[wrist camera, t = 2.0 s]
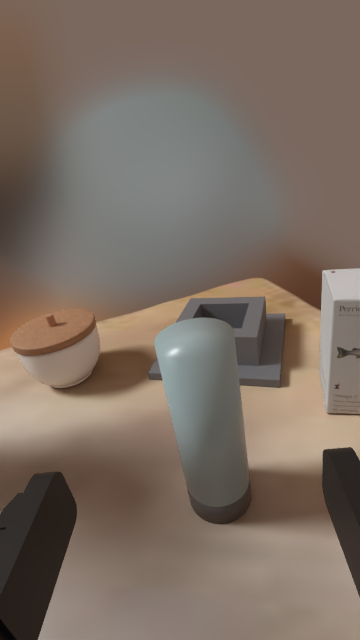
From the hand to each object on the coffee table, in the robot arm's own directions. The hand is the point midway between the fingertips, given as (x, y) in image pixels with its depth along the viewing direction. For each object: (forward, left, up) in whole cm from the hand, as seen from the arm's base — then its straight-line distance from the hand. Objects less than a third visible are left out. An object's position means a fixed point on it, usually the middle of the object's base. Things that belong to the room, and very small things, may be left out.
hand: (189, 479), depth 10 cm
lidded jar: (-27, +25, -17) cm, 40 cm away
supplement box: (+9, +25, -17) cm, 31 cm away
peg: (-3, +11, -17) cm, 20 cm away
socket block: (-7, +33, -16) cm, 38 cm away
